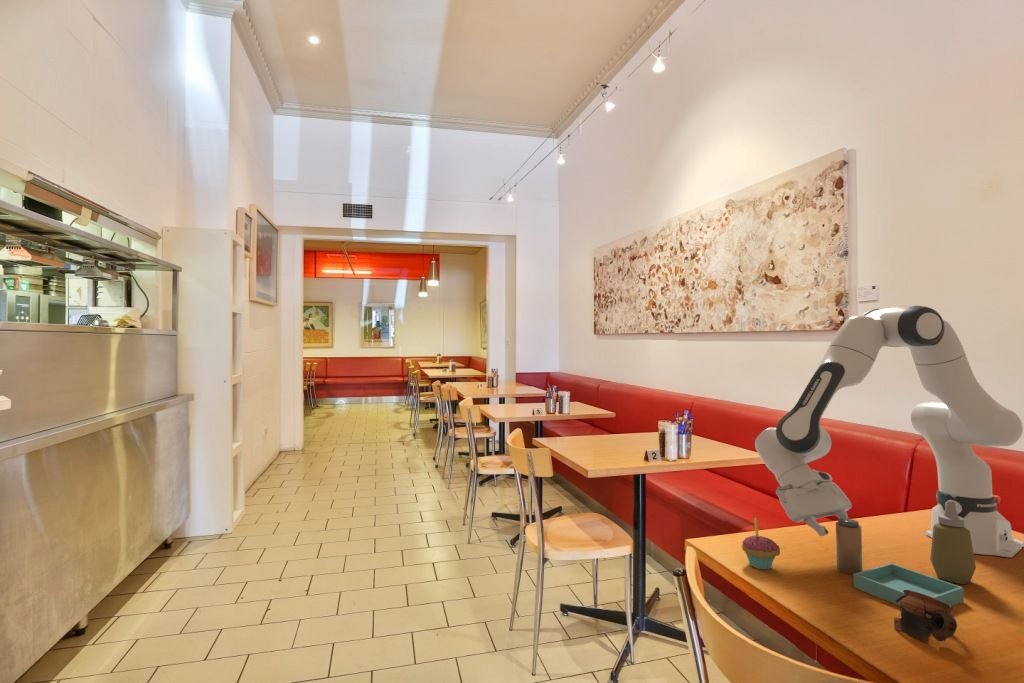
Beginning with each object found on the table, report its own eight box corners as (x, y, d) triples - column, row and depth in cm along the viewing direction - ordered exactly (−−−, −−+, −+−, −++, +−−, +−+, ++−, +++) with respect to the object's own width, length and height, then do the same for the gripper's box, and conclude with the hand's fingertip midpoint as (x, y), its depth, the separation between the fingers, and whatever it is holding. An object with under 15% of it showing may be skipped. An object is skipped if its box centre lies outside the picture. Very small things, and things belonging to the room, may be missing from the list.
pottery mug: (877, 623, 99) (887, 582, 102) (923, 647, 99) (932, 605, 101) (928, 641, 88) (938, 594, 90) (981, 667, 87) (990, 619, 89)
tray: (891, 575, 119) (891, 563, 120) (963, 602, 107) (963, 587, 107) (853, 587, 114) (853, 573, 114) (925, 616, 101) (924, 601, 101)
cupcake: (734, 560, 129) (734, 513, 129) (763, 557, 131) (762, 511, 131) (757, 574, 121) (756, 524, 121) (788, 571, 122) (787, 521, 123)
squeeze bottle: (985, 588, 113) (982, 507, 113) (944, 585, 114) (941, 505, 115) (961, 573, 121) (958, 497, 121) (922, 570, 122) (920, 495, 123)
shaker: (845, 564, 126) (844, 516, 126) (867, 572, 121) (866, 522, 122) (832, 568, 124) (830, 519, 124) (853, 576, 119) (852, 525, 119)
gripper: (780, 481, 128) (817, 531, 119) (833, 473, 136) (872, 520, 127) (765, 494, 132) (800, 544, 123) (817, 485, 140) (854, 532, 131)
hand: (837, 532), depth 125 cm, fingers open, 8 cm apart
